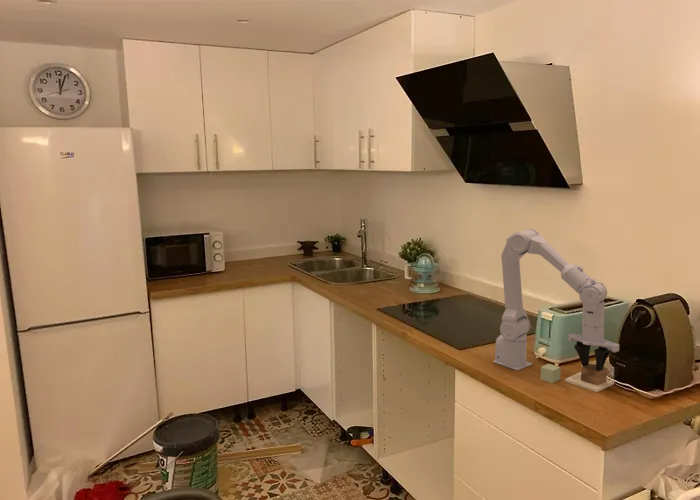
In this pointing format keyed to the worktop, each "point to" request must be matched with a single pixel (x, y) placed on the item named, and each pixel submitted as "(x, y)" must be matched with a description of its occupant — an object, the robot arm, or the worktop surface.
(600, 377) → the walnut brick
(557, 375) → the sage brick
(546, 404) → the worktop surface
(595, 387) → the plate
